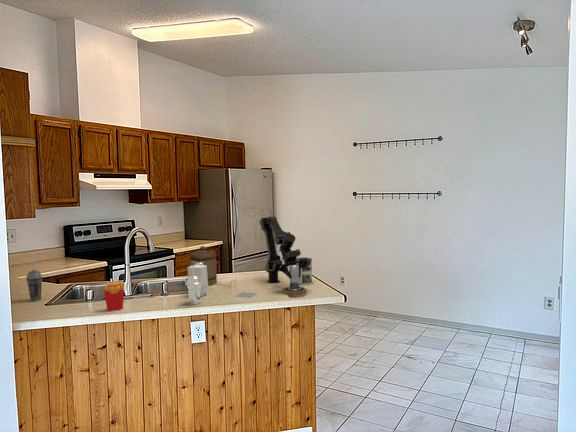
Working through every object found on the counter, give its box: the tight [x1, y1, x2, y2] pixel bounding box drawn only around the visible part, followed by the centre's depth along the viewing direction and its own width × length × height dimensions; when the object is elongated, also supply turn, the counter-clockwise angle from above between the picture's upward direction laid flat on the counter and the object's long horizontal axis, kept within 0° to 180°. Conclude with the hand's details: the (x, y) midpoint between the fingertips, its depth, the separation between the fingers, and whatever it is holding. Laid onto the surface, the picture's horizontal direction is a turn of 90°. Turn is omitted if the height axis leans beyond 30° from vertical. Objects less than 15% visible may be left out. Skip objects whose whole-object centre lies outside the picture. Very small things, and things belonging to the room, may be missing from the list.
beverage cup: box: [25, 261, 43, 302], centre depth 224 cm, size 7×7×20 cm
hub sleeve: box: [288, 264, 301, 291], centre depth 228 cm, size 7×7×13 cm
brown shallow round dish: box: [282, 286, 308, 298], centre depth 229 cm, size 13×13×3 cm
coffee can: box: [295, 256, 313, 286], centre depth 253 cm, size 10×10×14 cm
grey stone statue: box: [185, 262, 204, 305], centre depth 215 cm, size 8×9×20 cm
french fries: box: [103, 280, 126, 312], centre depth 206 cm, size 9×4×13 cm, turn 109°
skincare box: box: [187, 265, 209, 298], centre depth 230 cm, size 8×7×16 cm
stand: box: [234, 291, 259, 299], centre depth 225 cm, size 9×9×1 cm
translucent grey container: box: [189, 245, 218, 287], centre depth 256 cm, size 15×15×22 cm
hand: (295, 277), depth 227 cm, fingers closed on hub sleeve, 5 cm apart
